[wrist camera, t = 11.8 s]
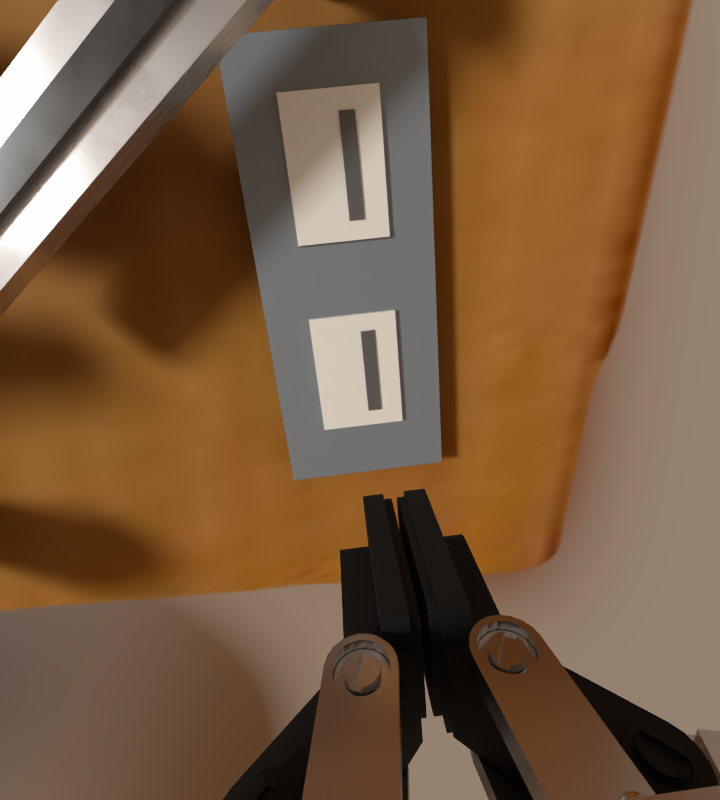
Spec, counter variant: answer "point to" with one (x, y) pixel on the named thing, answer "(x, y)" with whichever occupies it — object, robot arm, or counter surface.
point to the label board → (343, 236)
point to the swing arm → (95, 110)
